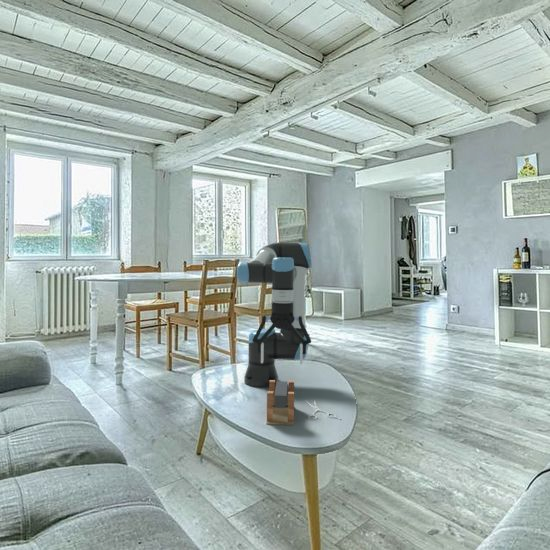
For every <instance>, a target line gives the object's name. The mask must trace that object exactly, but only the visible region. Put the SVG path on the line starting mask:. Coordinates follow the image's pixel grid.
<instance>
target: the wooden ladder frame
mask: <svg viewBox="0 0 550 550" xmlns="http://www.w3.org/2000/svg"><path fill="white" fill-rule="evenodd" d="M275 388H276V384H275V380H270V381H269V386H268V391H267V392H266V423H265V424H266V425H281V426H294V425H295V423H294V422H295V419H294V418H295V380H288V391H287V406H286V408H275V407H274V395H275Z"/></svg>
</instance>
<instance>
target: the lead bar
mask: <svg viewBox="0 0 550 550" xmlns="http://www.w3.org/2000/svg"><path fill="white" fill-rule="evenodd" d="M287 393H288V381H283V380H281V381H280V380H278V381H277V382H276V384H275V395H274V407H275V408H286V406H287Z"/></svg>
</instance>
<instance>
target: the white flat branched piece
mask: <svg viewBox="0 0 550 550" xmlns="http://www.w3.org/2000/svg"><path fill="white" fill-rule="evenodd" d="M305 402H306V403H307V404H308V405H309V406H310V407H311V408H312V409H313V410H314V412H312V414H311V415H308V417H307V418H308V420H311V421H315V420H318V416H317V415H315V414H317V413H318V412H320V413H323V412H324V414H326V417H327V416H328V417H327V418H329V417H331V419H337V418H338V419H337V420H339V419H341V418H340V417H338V416H337V414H335V413H330V412H327V411H325V410H322V409H320V408H319V407H318V404H317V402H316V400H315V399H313V404H311V403H310V402H308V401H307V400H305ZM314 405H315V406H314ZM316 405H317V406H316ZM329 414H332V415H329ZM334 415H335V416H334ZM311 417H314V418H311ZM341 420H342V419H341Z"/></svg>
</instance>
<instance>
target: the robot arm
mask: <svg viewBox="0 0 550 550" xmlns="http://www.w3.org/2000/svg"><path fill="white" fill-rule="evenodd" d="M312 267H313V265H312V255H311V247H310V244H309V243H306V242H274V243H270V244H267V245H265V246H263V247H261V248H260V249H259V250H258V251H257V252H256V255H255V256H254V258H252V259H251V260H250V261H249V262H246V261H245V262H239V263H238V264H237V267H236V278H237V280H238V282H239V283H246V284H253V283H254V284H271V285H272V286H271V301H272V303H271V315H267V314H263V316H262V318H261V323H260V325H259V327H258V329H255V330H251V332H249V335H248V342H247V344H248V364H247V368H246V371H245V373H244V378H243V379H244V381H243V382H244V384H246V385H248V386H251V387H255V388H256V387H258V388H259V387H260V388H263V387H265V388H266V387H269V381H270V380H275V385H276V382H277V381H279V375H278V374H279V373H278V371H277V368H276V364H275V363H276V361H275V360H285V361H287V360H288V361H299V363H300V365H303V361H304V360H305V359H306V358H307V355H308V351H309V345H310V344H312V339H311V337H310V333H309V332H308V331H307V329H306V326H305V325H304V319H305V317H304V315H305V292H306V291H305V290H306V289H305V287H306V286H305V285H306V274H308V273H309V271H310V269H311V268H312ZM269 321H270V322H271V323H272V324H271V325H270V327H268V328H264V326H265V324H266V323H268V322H269ZM276 329H278V330H280V331H279V332H276Z"/></svg>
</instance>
